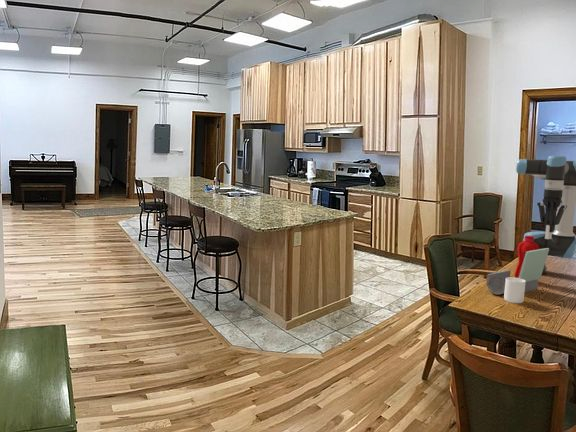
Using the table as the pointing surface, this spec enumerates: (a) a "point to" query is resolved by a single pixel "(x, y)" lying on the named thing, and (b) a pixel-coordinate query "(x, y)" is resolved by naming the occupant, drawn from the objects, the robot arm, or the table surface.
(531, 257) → the lid
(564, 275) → the table surface
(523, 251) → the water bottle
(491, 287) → the mug
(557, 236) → the robot arm
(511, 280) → the cup
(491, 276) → the grey long flat pieces
